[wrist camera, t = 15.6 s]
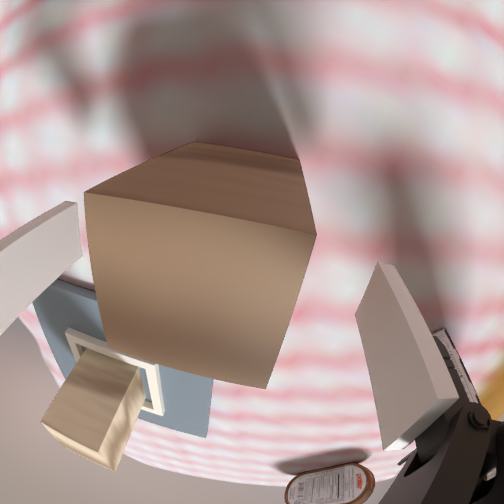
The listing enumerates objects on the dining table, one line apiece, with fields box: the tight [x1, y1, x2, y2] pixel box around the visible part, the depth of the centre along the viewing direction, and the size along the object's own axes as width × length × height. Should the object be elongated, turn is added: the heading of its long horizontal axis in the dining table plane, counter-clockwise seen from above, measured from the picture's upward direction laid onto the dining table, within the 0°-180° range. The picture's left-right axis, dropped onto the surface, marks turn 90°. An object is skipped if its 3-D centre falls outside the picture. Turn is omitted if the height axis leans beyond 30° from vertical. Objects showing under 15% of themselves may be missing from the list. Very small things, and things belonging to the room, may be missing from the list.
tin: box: [285, 463, 375, 504], centre depth 32 cm, size 15×3×8 cm, turn 126°
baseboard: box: [32, 279, 213, 438], centre depth 26 cm, size 20×20×1 cm
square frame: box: [65, 327, 165, 416], centre depth 25 cm, size 10×10×1 cm
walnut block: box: [84, 142, 317, 389], centre depth 12 cm, size 6×6×10 cm
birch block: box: [41, 348, 146, 472], centre depth 21 cm, size 6×6×10 cm
